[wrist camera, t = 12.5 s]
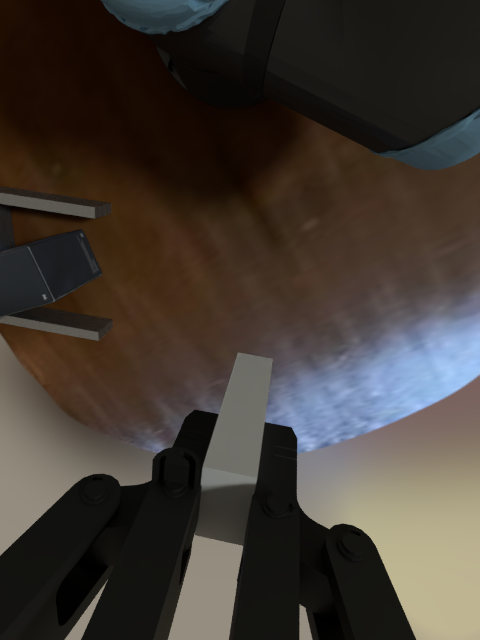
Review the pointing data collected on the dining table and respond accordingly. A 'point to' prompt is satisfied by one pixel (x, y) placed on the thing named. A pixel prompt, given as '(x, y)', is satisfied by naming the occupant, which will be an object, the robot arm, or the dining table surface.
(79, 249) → the small box
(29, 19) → the dining table surface
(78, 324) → the grey u-shaped bracket
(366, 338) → the dining table surface
